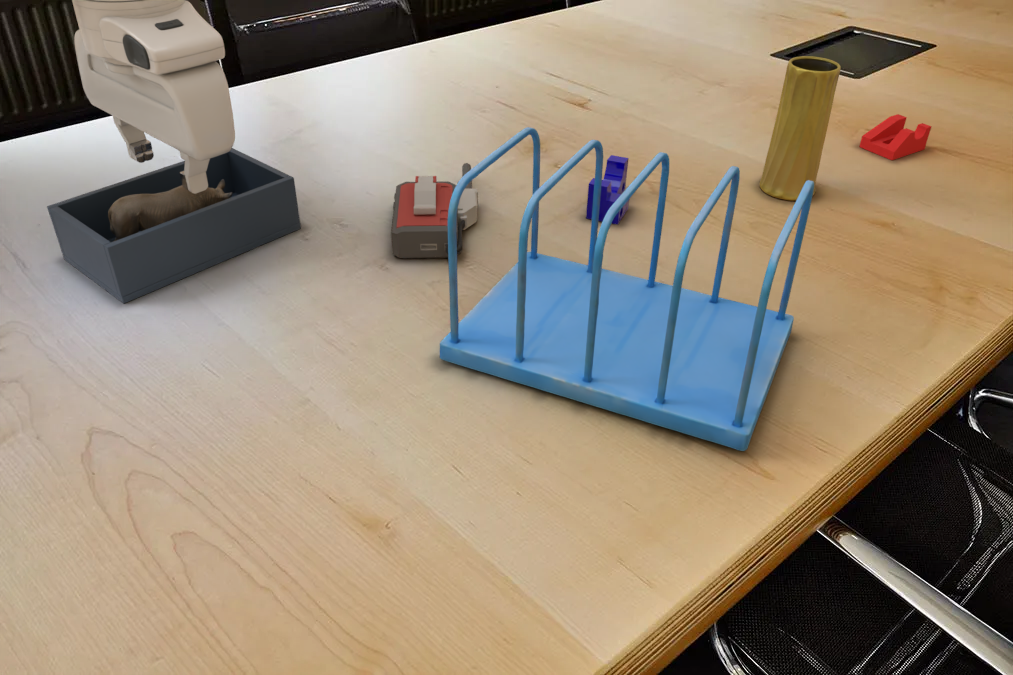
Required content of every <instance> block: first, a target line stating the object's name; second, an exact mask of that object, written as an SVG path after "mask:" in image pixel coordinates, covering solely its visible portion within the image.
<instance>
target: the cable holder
mask: <svg viewBox="0 0 1013 675" xmlns="http://www.w3.org/2000/svg"><path fill="white" fill-rule="evenodd" d="M628 167H629V157H624V156H618V155H614V154H610V155H609V156H608V158H607V159H606V164H605V172H604V175H603V178H602V183H601V196H600V208H599V220H598V222H601V223H602V222H603V219H604V217H605V215H606V213H607V212H608V210H609V208H610V207H611V206H612V205H613V204H614V202H615V201H616V200H617V199H618V198H619V197H620V196H621V194H622V193H623V192H624V191H625V190H626V188H627V187H626V186H627V176H628ZM594 183H595V177H592V179H591V180H590V181H589V183H588V186H587V199H586V200H587V201H586V211H585V212H586V213H585V219H587V220H592V208H593V195H594ZM629 206H630V199H629V200H628V201H627V202H626V204H625V205H624V206H623V207H622V208H621V209H620V211H619V212H618V213H617V215H616V216H615V217H614V219H613V221H612V223H611V225H612V224H613V225H617V226H618V225H619V224H620V222H621V221H622V219H623V218H624V216H625V215H626V213H627V211H628V210H629Z"/></svg>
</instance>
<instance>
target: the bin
mask: <svg viewBox="0 0 1013 675" xmlns="http://www.w3.org/2000/svg"><path fill="white" fill-rule="evenodd" d="M184 167H185V160H182V161H179V162H176V163H173V164H170V165H167V166H163V167H160V168H157V169H155V170H152V171H149V172H146V173H142V174H140V175H137V176H134V177H131V178H128V179H124V180H122V181H119V182H116V183H112V184H110V185H108V186H104V187H101V188H98V189H95V190H92V191H91V190H90V191H89V192H85V193H82V194H80V195H76V196H73V197H70V198H68V199H64V200H60V201H59V202H55V203H52V204H49V205H47V206H46V208H47V211H48V212H47V213H48V214H49V217H50V220H51V223H52V227H53V229H54V233H55V236H56V239H57V242H58V245H59V248H60V251H61V253H62V258H63V260H64V261H66V262H67V263H68V264H70V265H71V266H73V267H74V268H75V269H77V270H78V271H79V272H80V273H82V274H83V275H84V276H85V277H87V278H89V279H90V280H91V281H92V282H94V283H96V284H97V285H98V286H99V287H101V288H102V289H104V290H105V291H106V292H108V293H109V294H110V295H111V296H113V297H114V298H116V299H117V300H118V301H120V302H121V303H123V304H127V303H129V302H132V301H133V300H135V299H138V298H141V297H143V296H145V295H148V294H149V293H152V292H155V291H157V290H159V289H162V288H164V287H166V286H169V285H171V284H173V283H176V282H178V281H181V280H183V279H185V278H188V277H190V276H192V275H195V274H197V273H199V272H203V271H204V270H206V269H209V268H211V267H213V266H216V265H218V264H220V263H223V262H225V261H228V260H231V259H232V258H234V257H237V256H240V255H241V254H244V253H246V252H249V251H251V250H254V249H256V248H259V247H261V246H263V245H265V244H267V243H270V242H272V241H275V240H277V239H279V238H282V237H285V236H287V235H288V234H291V233H293V232H296V231H298V230H300V229H301V228H302V225H301V218H300V211H299V210H300V209H299V203H298V198H297V190H296V183H295V177H294V176H292V175H290V174H287V173H286V172H283V171H282V170H279V169H278V168H275V167H273V166H271V165H269V164H267V163H264V162H263V161H260V160H259V159H256V158H254V157H252V156H251V155H248V154H246V153H244V152H241V151H239V150H238V149H236V148H234V147H232V149H231V150H230V151H229V152H227V153H225V154H222V155H219V156H216V157H213V158H210V160H209V164H208V167H207V171H206V176H207V181H208V187H209V188H214V189H216V188H217V186H218V184H219V183H220V181H221V180H222V179H223V180H224V182H225V187H224V189H223V192H224V193H225V194H226V193H230V192H232V196H231V197H230V198H229V199H226V200H223V201H221V202H218V203H215V204H213V205H210V206H207V207H205V208H202V209H199V210H197V211H194V212H191V213H189V214H186V215H183V216H181V217H178V218H175V219H173V220H170V221H167V222H165V223H162V224H159V225H157V226H154V227H151V228H149V229H146V230H143V231H139V232H138V233H135V234H133V235H130V236H127V237H125V238H122V239H119V240H117V241H114V240H115V239H116V236H115V235H114V234H113V233H112V232H111V230H110V221H109V217H108V211H109V209H110V207H111V206H112V204H113V203H114V202H115V201H116V200H118V199H119V198H121V197H124V196H128V195H133V194H156V193H162V192H166V191H169V190H171V189H174V188H176V187H179V186H181V185H182V180H181V177H180V172H182V171H184ZM113 241H114V242H113Z"/></svg>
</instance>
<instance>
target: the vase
mask: <svg viewBox="0 0 1013 675" xmlns="http://www.w3.org/2000/svg"><path fill="white" fill-rule="evenodd" d="M840 73H841V65H840V63H838V62H837V61H835V60H832V59H829V58H825V57H821V56H820V57H819V56H812V55H810V56H809V55H802V56H795V57H792V58H790V59H789V60H788V62H787V65H786V70H785V76H784V80H783V85H782V89H781V95H780V98H779V104H778V108H777V113H776V116H775V121H774V126H773V129H772V134H771V137H770V142H769V146H768V149H767V154H766V158H765V162H764V167H763V170H762V175H761V178H760V179H759V180H760V181H759V188H760V189H761V190H762V192H764V193H765V194H766V195H768V196H770V197H772V198H776V199H779V200H785V201H792V202H793V201H795V202H796V200H797V198H798V196H799V194H800V192H801V190H802V188H803V186H804V184H805V182H806V181H808V180H810V181H813V182H814V190H813V196H814V195H815V193H816V183H817V177H818V173H819V170H820V166H821V159H822V156H823V154H822V153H823V148H824V145H825V141H826V136H827V132H828V127H829V123H830V117H831V113H832V108H833V104H834V100H835V93H836V91H837V86H838V83H839V77H840V75H841V74H840Z"/></svg>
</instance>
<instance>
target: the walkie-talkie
mask: <svg viewBox="0 0 1013 675" xmlns="http://www.w3.org/2000/svg"><path fill="white" fill-rule="evenodd" d="M461 168H462V169H461V174H462V175H461V176H462V177H463V176H464V175H465V174H466V173H467V172H469V171H470V170H471V169H472V165H471V164H470V163H469V162H464V163H463V164H462V166H461ZM414 177H415V180H414V181H404V182H402V183H399V184H397V185H396V186H395V192H394V196H393V198H394V201H393V204H392V205H393V206H392V210H393V211H392V212H393V213H392V222H391V231H390V240H391V253H392V255H394V256H395V257H396V258H399V259H448V210H449V204H450V200H451V196H452V194H453V191H454V189H455V187H456V185H457V184H456V183H453V182H451V181H446V180H445V181H444V180H443V181H440V180H439V181H437V175H415V176H414ZM462 177H461V178H462ZM478 207H479V189H478V188H473V180H471V181H470V182H469V183H468V184H467V186H466V187H465V189H464V191H463V193H462V195H461V197H460V201H459V205H458V208H457V217H456V238H457V256H458V255H460V254H461V253H462V251H463V231H465V230H466V229H468V228H470V227H471V226H472V225H474V224H476V222H478Z"/></svg>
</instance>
